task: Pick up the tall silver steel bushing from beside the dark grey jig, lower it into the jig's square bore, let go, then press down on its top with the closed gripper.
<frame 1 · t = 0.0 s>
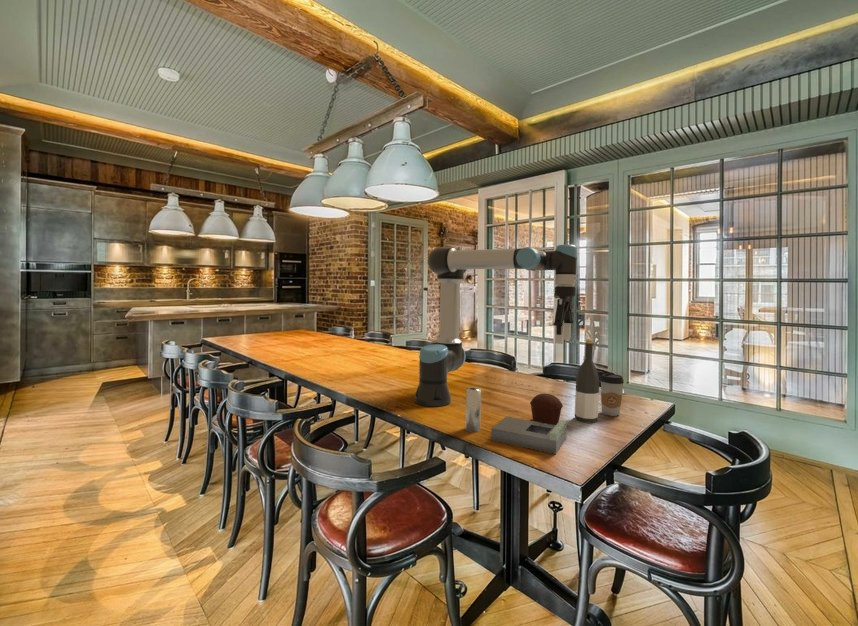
hand: (562, 341, 157), 28 cm above the table, tool pointing down, fingers open, 13 cm apart
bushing: (472, 429, 139), on the table
coffee cup: (610, 414, 160), on the table
wine bottle: (585, 420, 152), on the table
muffin: (545, 422, 149), on the table
jig: (528, 440, 131), on the table
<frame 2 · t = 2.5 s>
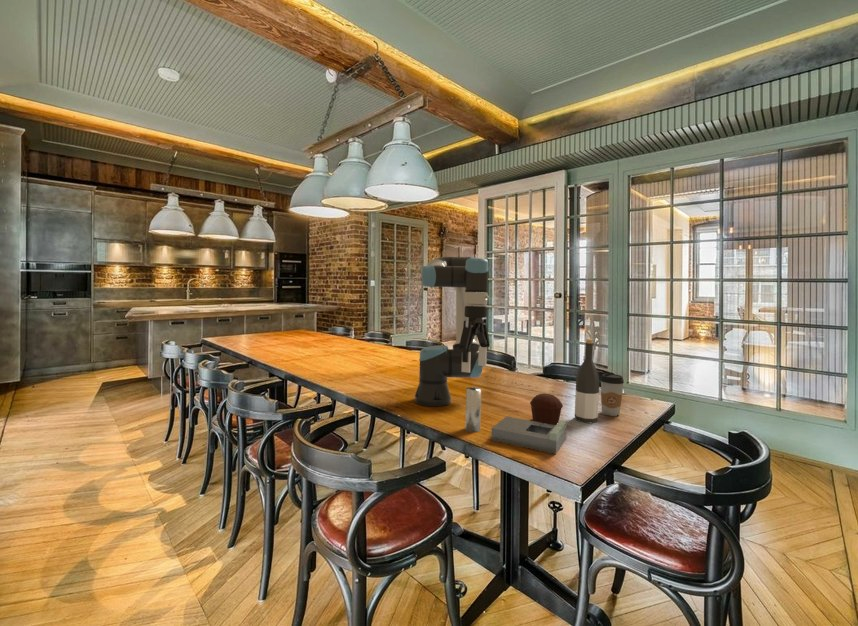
hand: (474, 368, 138), 21 cm above the table, tool pointing down, fingers open, 13 cm apart
nothing on the table moved.
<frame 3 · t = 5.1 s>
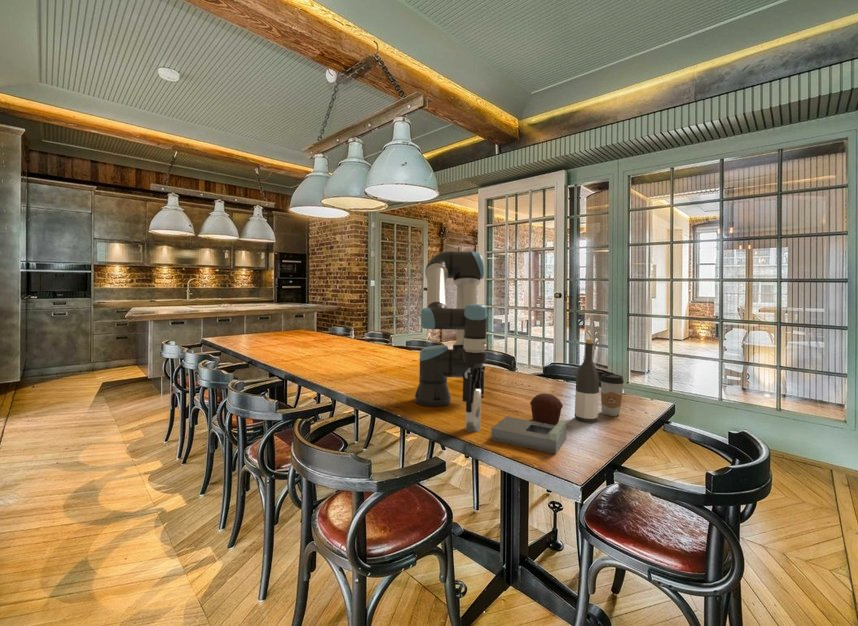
hand: (473, 418, 139), 4 cm above the table, tool pointing down, fingers closed on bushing, 5 cm apart
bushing: (472, 429, 139), on the table, touching gripper
everything else where it was.
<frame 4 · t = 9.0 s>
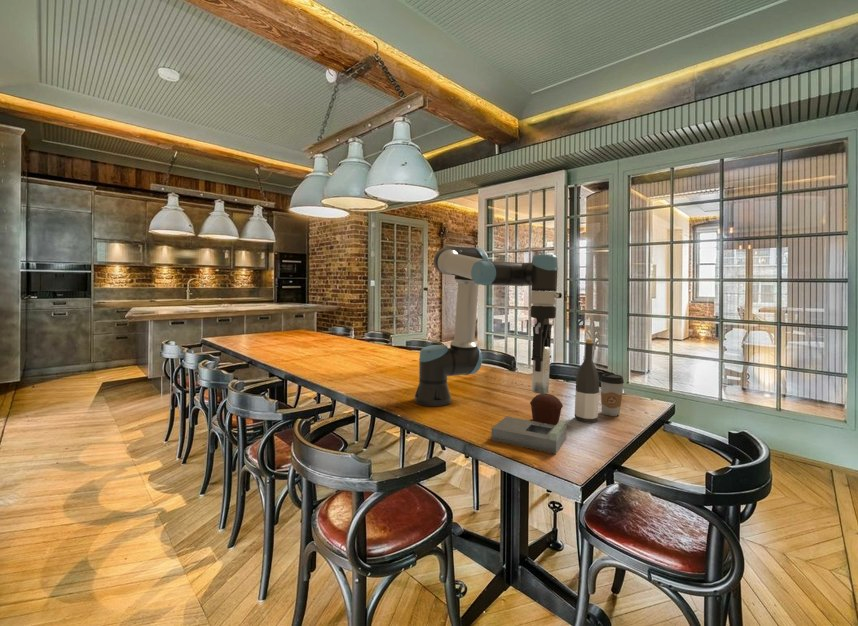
hand: (540, 379, 128), 20 cm above the table, tool pointing down, fingers closed on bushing, 5 cm apart
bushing: (540, 391, 128), point 16 cm above the table, touching gripper
everything else where it was.
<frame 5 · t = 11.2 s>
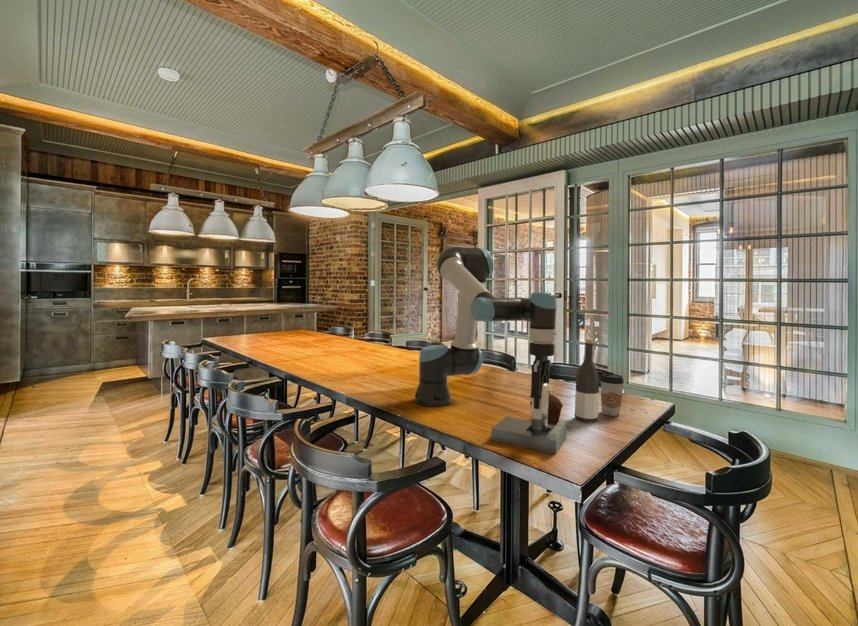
hand: (539, 416, 128), 8 cm above the table, tool pointing down, fingers closed on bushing, 5 cm apart
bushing: (539, 427, 129), point 5 cm above the table, touching gripper
everything else where it was.
when the fingers open (5 cm above the table, at t = 13.1 s): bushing drops 1 cm, resting in jig.
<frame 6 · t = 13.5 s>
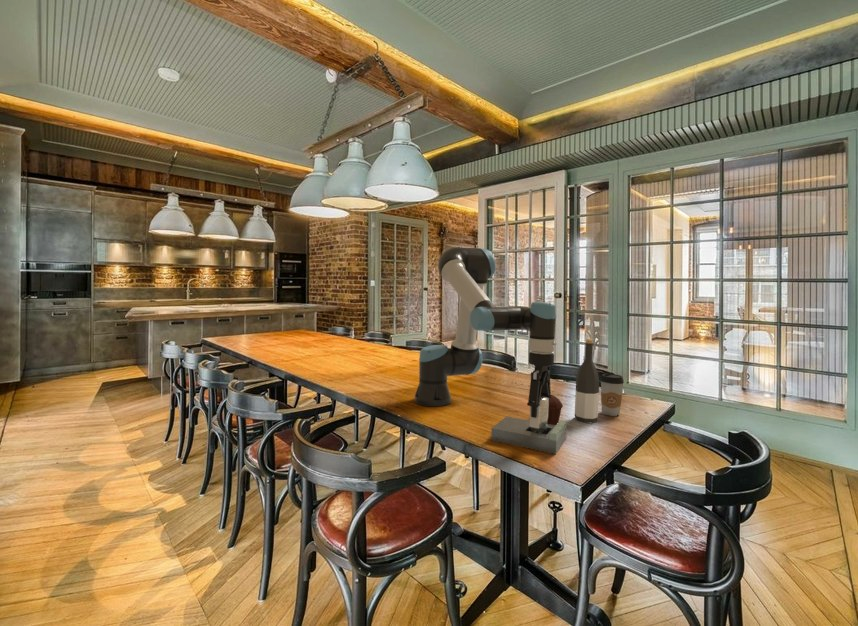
hand: (539, 422, 129), 6 cm above the table, tool pointing down, fingers open, 10 cm apart
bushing: (538, 441, 129), resting in jig
everything else where it was.
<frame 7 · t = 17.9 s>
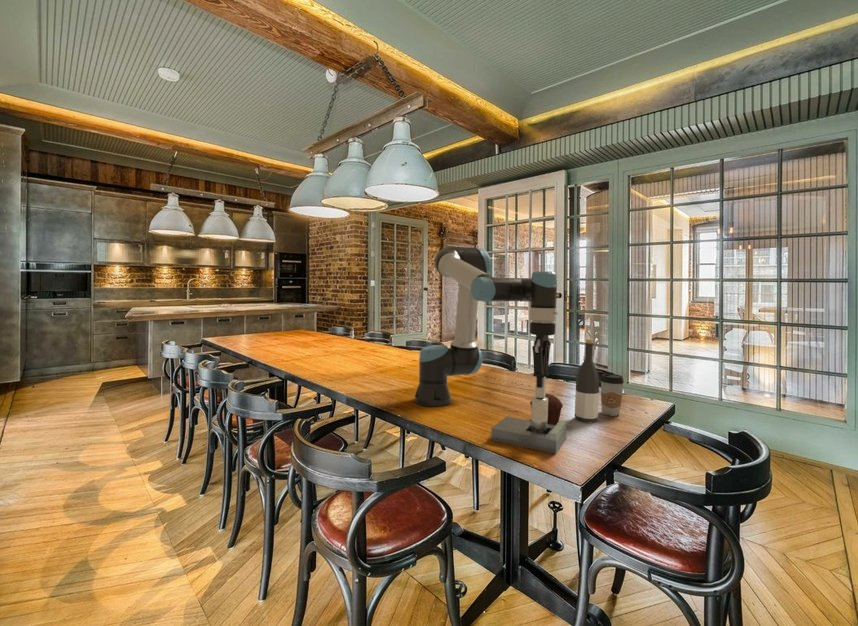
hand: (540, 397, 128), 14 cm above the table, tool pointing down, fingers closed
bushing: (538, 442, 129), resting in jig, touching gripper
everything else where it was.
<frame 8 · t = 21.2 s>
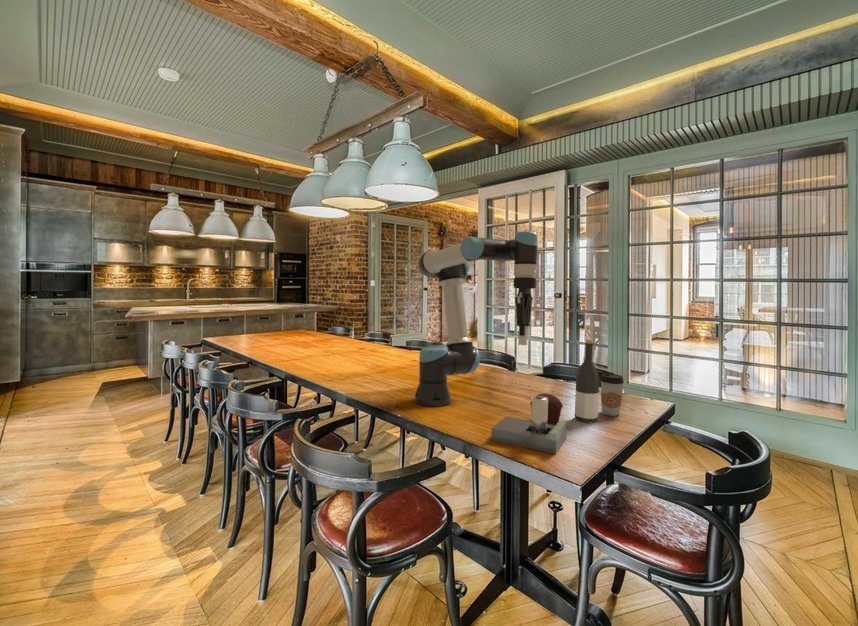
hand: (522, 344, 143), 28 cm above the table, tool pointing down, fingers closed
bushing: (538, 441, 129), resting in jig
everything else where it was.
at the end: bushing 0.1 cm from the target spot on the jig, point 0.0 cm above the jig's base; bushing tilted 0°; the gripper is holding nothing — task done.
